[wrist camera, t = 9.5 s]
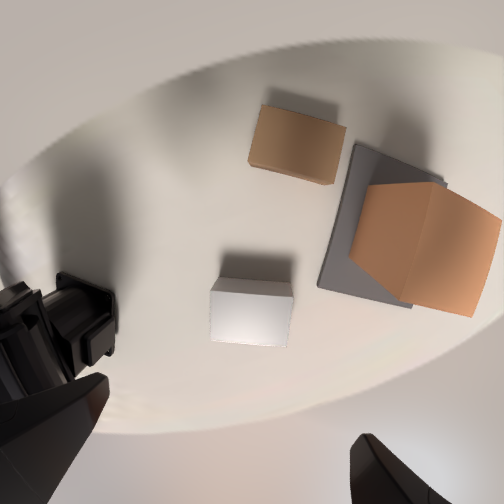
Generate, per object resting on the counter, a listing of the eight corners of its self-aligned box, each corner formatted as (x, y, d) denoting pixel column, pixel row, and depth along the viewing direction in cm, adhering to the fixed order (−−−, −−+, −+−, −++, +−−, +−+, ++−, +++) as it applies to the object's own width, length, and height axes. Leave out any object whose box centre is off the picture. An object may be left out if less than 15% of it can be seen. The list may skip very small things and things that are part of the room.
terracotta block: (348, 257, 18) (398, 300, 10) (368, 185, 17) (433, 181, 9) (407, 273, 18) (471, 317, 10) (426, 208, 17) (502, 220, 9)
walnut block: (251, 166, 18) (247, 160, 15) (263, 118, 17) (262, 104, 14) (323, 185, 18) (333, 183, 15) (334, 137, 17) (346, 127, 14)
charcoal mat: (316, 284, 19) (318, 287, 18) (353, 145, 17) (356, 144, 16) (408, 306, 19) (411, 308, 18) (443, 183, 17) (447, 183, 16)
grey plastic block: (218, 320, 20) (210, 340, 17) (219, 276, 19) (210, 290, 16) (284, 326, 20) (286, 346, 17) (290, 281, 19) (293, 297, 16)
